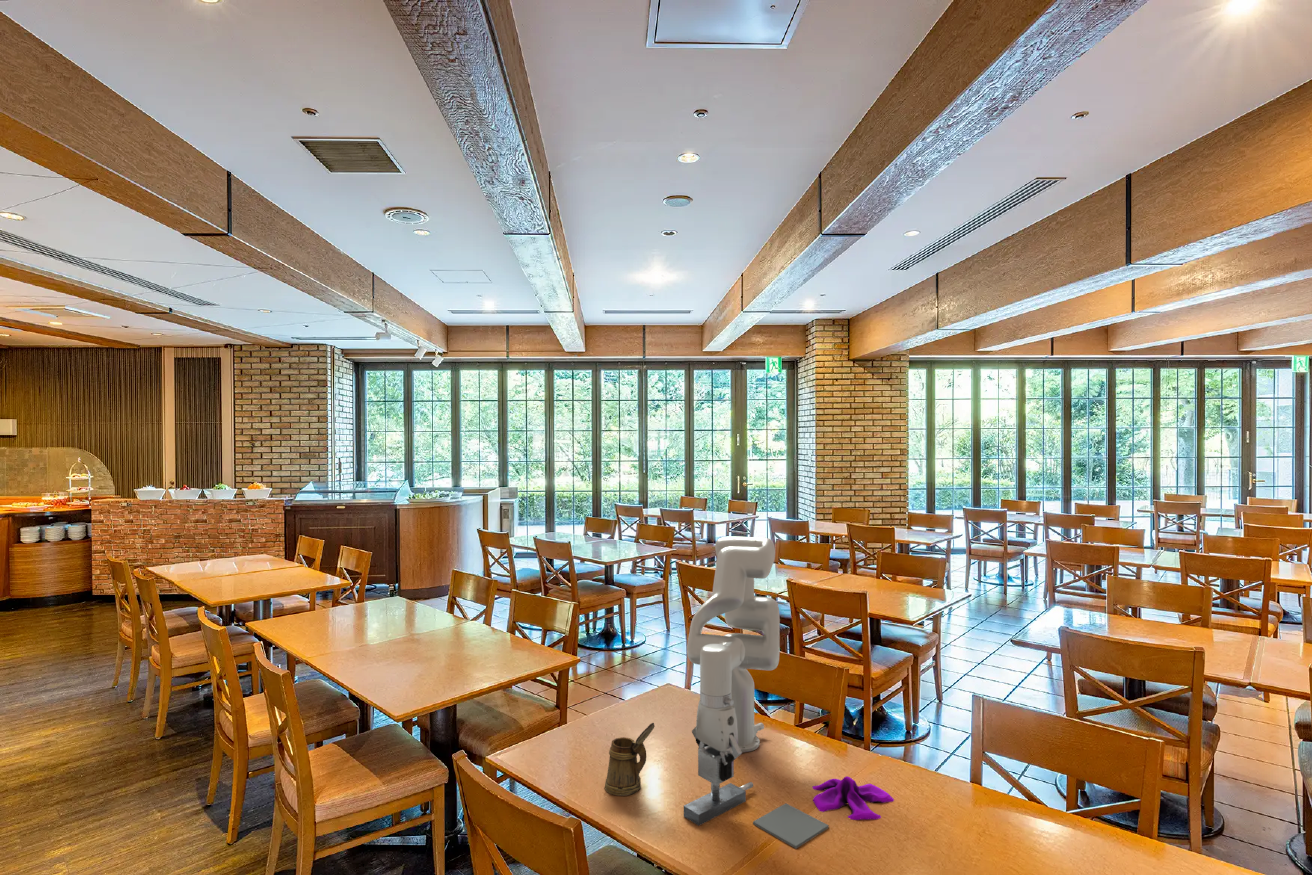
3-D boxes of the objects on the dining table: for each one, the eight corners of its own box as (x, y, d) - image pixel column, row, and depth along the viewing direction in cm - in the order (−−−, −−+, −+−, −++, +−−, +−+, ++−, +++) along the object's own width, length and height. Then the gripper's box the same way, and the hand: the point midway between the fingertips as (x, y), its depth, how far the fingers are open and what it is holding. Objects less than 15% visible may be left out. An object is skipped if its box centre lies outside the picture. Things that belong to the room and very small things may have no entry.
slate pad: (786, 805, 155) (786, 802, 155) (828, 827, 146) (828, 824, 146) (753, 824, 147) (753, 821, 147) (795, 848, 138) (795, 845, 138)
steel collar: (715, 766, 159) (715, 742, 159) (733, 776, 154) (733, 751, 154) (698, 775, 155) (698, 750, 155) (716, 785, 150) (716, 759, 150)
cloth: (896, 792, 162) (896, 768, 163) (887, 831, 146) (887, 803, 146) (808, 772, 172) (808, 749, 173) (789, 806, 156) (789, 780, 156)
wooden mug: (643, 805, 155) (644, 729, 156) (597, 789, 162) (598, 717, 162) (662, 788, 163) (662, 716, 163) (617, 774, 170) (618, 705, 170)
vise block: (744, 786, 164) (744, 738, 164) (759, 794, 160) (759, 745, 161) (683, 816, 150) (683, 764, 151) (698, 825, 147) (698, 772, 147)
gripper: (753, 705, 150) (753, 782, 150) (701, 683, 163) (701, 754, 164) (731, 714, 145) (731, 793, 146) (679, 691, 159) (679, 764, 159)
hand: (715, 772), depth 155 cm, fingers closed on steel collar, 6 cm apart
